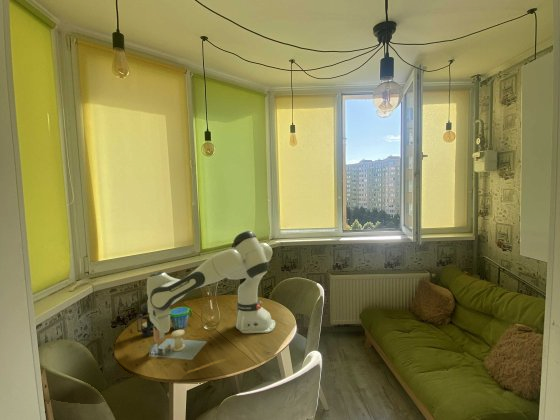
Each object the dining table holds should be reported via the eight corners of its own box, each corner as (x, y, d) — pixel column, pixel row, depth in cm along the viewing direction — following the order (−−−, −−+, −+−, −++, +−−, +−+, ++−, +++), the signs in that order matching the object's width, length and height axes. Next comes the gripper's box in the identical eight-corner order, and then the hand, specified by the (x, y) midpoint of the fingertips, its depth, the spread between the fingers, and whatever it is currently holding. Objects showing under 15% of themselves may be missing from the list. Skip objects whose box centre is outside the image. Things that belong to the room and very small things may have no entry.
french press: (163, 329, 159) (161, 289, 158) (160, 337, 150) (158, 295, 149) (140, 332, 157) (138, 291, 155) (136, 341, 147) (133, 297, 146)
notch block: (170, 350, 136) (170, 344, 136) (164, 356, 131) (164, 349, 131) (155, 348, 137) (155, 342, 137) (149, 354, 132) (148, 348, 132)
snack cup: (170, 336, 152) (169, 317, 151) (162, 329, 160) (161, 311, 159) (197, 326, 162) (196, 308, 162) (188, 320, 170) (188, 303, 170)
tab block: (162, 336, 136) (161, 322, 136) (165, 340, 133) (164, 325, 133) (153, 339, 134) (153, 324, 133) (156, 342, 131) (155, 327, 130)
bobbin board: (207, 343, 143) (206, 326, 143) (191, 362, 127) (191, 343, 127) (167, 340, 147) (166, 323, 147) (148, 358, 131) (147, 339, 131)
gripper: (145, 302, 139) (146, 329, 139) (157, 315, 123) (158, 346, 124) (158, 299, 143) (159, 325, 143) (172, 311, 127) (173, 341, 127)
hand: (159, 335), depth 133 cm, fingers closed on tab block, 4 cm apart
